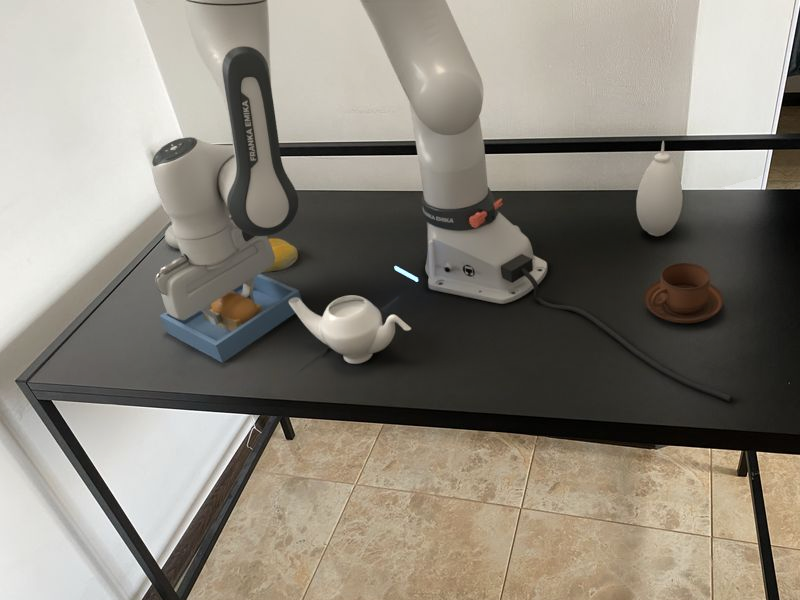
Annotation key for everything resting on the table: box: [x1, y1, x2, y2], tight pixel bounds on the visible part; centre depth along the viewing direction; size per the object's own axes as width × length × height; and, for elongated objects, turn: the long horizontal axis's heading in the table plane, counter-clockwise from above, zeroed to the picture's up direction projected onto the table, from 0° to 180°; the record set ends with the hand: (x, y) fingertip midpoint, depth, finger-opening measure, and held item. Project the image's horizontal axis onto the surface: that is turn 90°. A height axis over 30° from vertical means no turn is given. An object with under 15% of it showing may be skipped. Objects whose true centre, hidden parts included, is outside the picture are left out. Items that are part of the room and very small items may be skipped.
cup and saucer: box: [643, 262, 724, 324], centre depth 117 cm, size 12×12×6 cm
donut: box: [164, 224, 180, 250], centre depth 153 cm, size 10×4×10 cm
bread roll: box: [263, 237, 299, 273], centre depth 142 cm, size 8×9×4 cm
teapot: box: [289, 294, 412, 365], centre depth 115 cm, size 10×20×9 cm, turn 72°
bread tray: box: [159, 273, 303, 363], centre depth 127 cm, size 16×18×4 cm
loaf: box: [204, 291, 262, 332], centre depth 127 cm, size 11×5×5 cm, turn 52°
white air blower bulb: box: [635, 140, 684, 237], centre depth 132 cm, size 8×8×18 cm
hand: (233, 312), depth 127 cm, fingers closed on loaf, 5 cm apart
